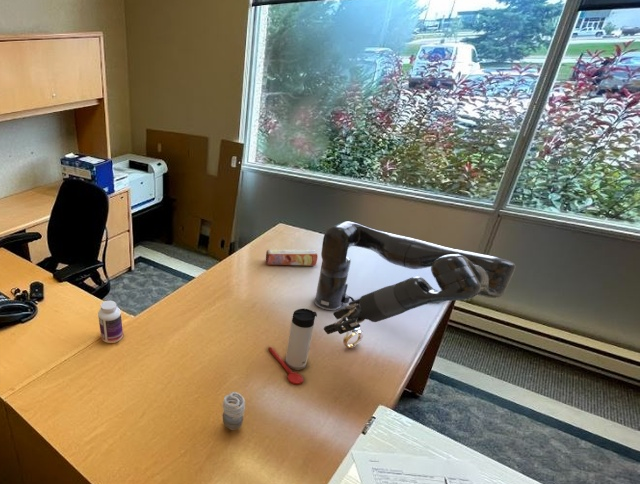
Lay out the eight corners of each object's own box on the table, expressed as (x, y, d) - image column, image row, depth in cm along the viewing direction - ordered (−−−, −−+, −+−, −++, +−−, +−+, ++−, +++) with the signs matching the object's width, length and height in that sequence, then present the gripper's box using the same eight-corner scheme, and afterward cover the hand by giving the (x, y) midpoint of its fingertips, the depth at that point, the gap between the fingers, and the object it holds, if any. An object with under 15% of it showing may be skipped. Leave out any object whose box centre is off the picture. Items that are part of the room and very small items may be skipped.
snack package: (266, 266, 188) (268, 253, 184) (265, 259, 193) (266, 246, 190) (316, 268, 184) (318, 254, 180) (313, 260, 189) (315, 247, 186)
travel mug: (308, 371, 130) (318, 319, 120) (286, 369, 131) (294, 318, 121) (305, 357, 135) (315, 307, 125) (284, 356, 136) (291, 306, 127)
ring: (356, 342, 140) (361, 323, 136) (363, 348, 137) (368, 328, 133) (338, 346, 139) (343, 327, 135) (345, 352, 136) (349, 333, 132)
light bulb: (218, 421, 115) (220, 390, 110) (238, 418, 116) (241, 387, 110) (224, 438, 111) (227, 406, 105) (245, 435, 111) (248, 404, 105)
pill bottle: (126, 333, 152) (124, 300, 145) (117, 346, 146) (113, 313, 139) (107, 328, 155) (103, 296, 148) (97, 341, 149) (92, 308, 142)
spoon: (263, 350, 139) (263, 347, 139) (275, 347, 140) (275, 345, 140) (292, 386, 125) (293, 383, 124) (305, 382, 126) (306, 380, 125)
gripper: (387, 329, 102) (330, 347, 114) (399, 302, 111) (345, 321, 124) (368, 304, 102) (313, 324, 115) (382, 279, 112) (330, 301, 124)
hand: (330, 323), depth 119 cm, fingers open, 8 cm apart
